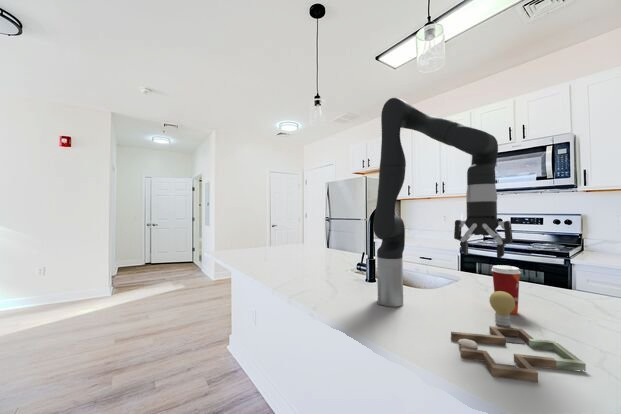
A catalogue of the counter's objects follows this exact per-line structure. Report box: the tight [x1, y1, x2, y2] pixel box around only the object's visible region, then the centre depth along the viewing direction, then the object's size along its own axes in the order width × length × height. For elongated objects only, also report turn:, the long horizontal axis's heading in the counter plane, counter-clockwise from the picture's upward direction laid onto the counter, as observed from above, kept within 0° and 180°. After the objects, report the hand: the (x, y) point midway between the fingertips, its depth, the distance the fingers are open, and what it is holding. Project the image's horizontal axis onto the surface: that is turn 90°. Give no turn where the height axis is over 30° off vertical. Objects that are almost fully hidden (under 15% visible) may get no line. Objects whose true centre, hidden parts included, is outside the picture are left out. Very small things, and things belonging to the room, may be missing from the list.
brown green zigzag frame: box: [450, 325, 587, 383], centre depth 66 cm, size 24×23×2 cm
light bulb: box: [489, 291, 515, 328], centre depth 82 cm, size 6×6×10 cm
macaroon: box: [457, 339, 479, 350], centre depth 68 cm, size 4×5×2 cm
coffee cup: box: [491, 264, 522, 316], centre depth 93 cm, size 8×8×15 cm
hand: (482, 256), depth 79 cm, fingers open, 8 cm apart
